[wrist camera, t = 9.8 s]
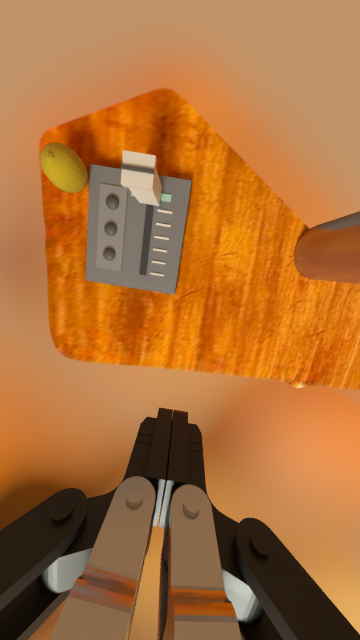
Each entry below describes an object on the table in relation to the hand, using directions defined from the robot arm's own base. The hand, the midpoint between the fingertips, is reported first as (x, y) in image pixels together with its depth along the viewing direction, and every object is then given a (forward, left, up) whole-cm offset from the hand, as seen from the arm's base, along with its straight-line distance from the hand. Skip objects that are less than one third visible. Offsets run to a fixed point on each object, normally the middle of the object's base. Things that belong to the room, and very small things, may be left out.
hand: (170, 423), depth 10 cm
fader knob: (+8, -18, -26) cm, 33 cm away
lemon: (+21, -19, -29) cm, 41 cm away
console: (+10, -12, -29) cm, 33 cm away
